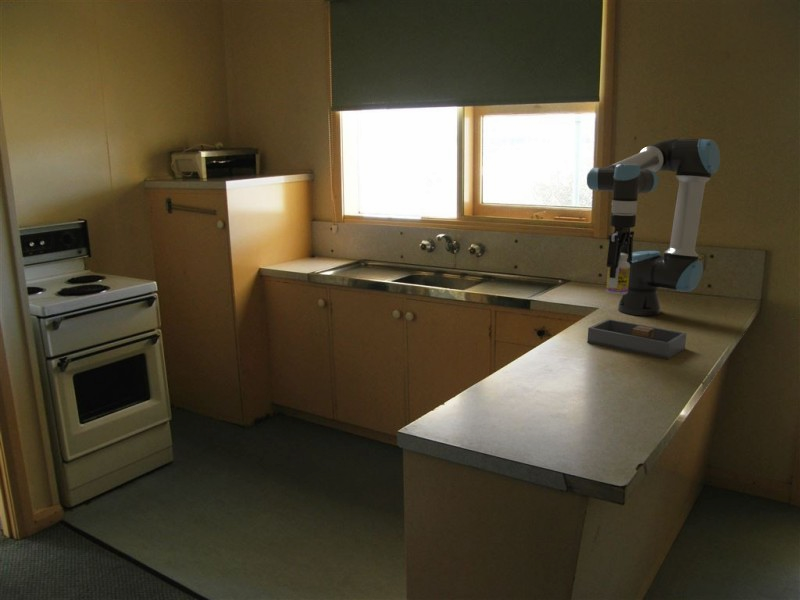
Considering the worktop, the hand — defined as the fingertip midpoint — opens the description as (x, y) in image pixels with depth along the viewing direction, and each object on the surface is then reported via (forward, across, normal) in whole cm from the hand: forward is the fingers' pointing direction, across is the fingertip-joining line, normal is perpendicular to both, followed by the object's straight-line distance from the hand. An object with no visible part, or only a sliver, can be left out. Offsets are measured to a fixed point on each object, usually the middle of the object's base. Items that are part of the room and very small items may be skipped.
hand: (617, 285), depth 224 cm
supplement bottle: (+3, 0, 0) cm, 3 cm away
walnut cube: (+18, 0, +10) cm, 20 cm away
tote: (+19, 0, +8) cm, 20 cm away
